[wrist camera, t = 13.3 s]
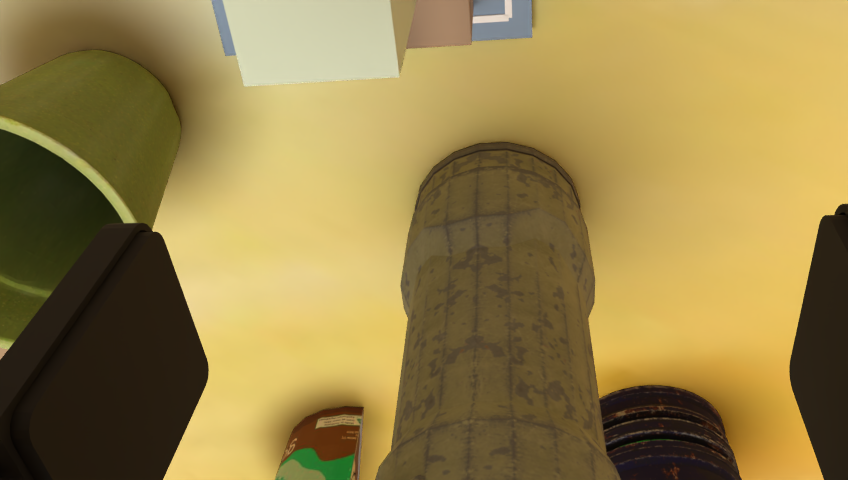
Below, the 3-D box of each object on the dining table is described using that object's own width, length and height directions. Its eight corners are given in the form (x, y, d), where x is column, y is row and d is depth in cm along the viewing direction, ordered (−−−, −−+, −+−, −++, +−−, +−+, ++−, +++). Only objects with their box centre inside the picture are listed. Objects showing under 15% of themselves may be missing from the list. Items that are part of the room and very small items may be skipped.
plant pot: (229, 23, 37) (144, 144, 28) (224, 226, 44) (154, 376, 35) (-29, -27, 36) (-201, 81, 27) (8, 187, 44) (-120, 329, 34)
